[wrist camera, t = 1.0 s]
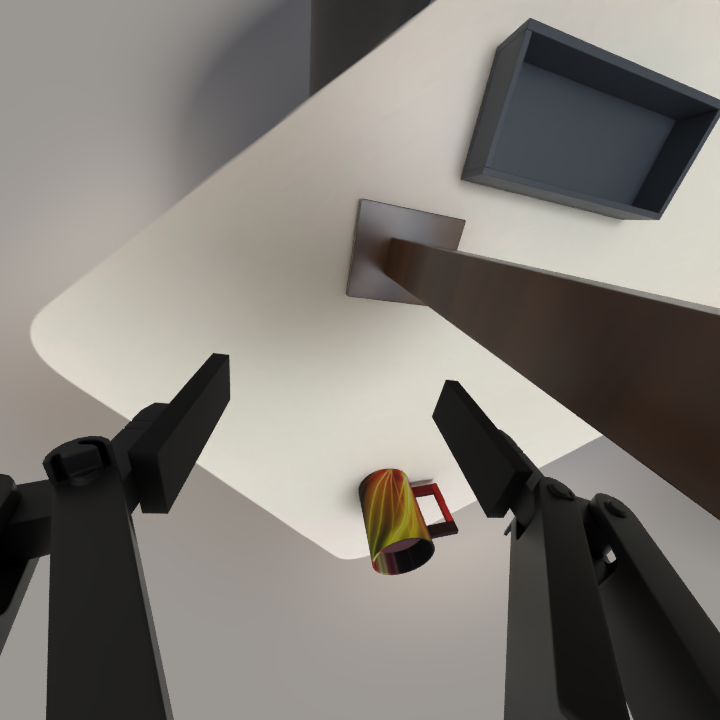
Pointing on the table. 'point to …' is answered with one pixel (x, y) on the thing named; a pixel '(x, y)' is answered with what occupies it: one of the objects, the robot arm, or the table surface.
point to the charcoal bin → (585, 127)
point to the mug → (399, 522)
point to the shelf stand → (565, 339)
